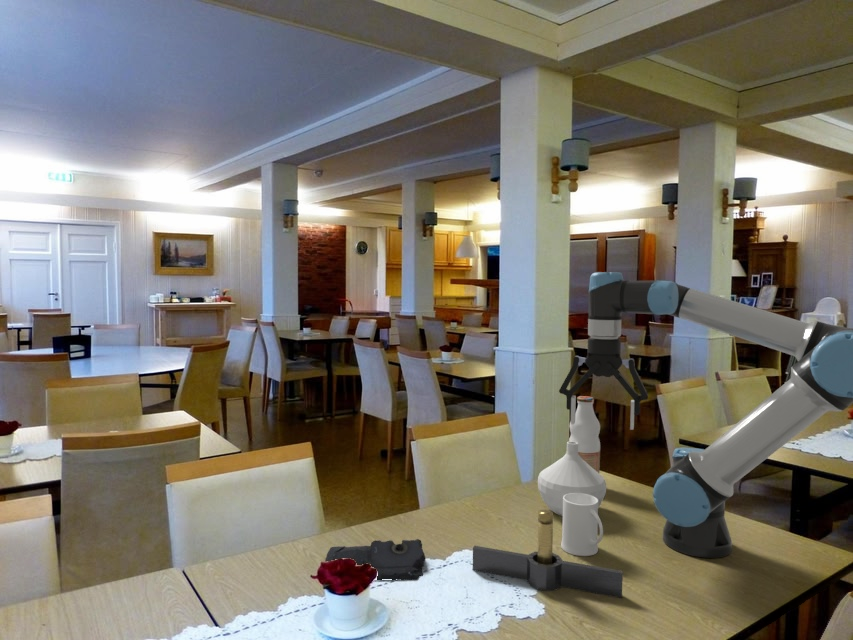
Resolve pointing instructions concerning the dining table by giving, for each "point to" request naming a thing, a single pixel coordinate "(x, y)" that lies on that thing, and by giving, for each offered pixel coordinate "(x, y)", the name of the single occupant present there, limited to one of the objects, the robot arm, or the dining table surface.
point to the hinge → (548, 571)
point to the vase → (569, 480)
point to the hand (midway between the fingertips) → (601, 425)
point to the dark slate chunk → (386, 558)
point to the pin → (545, 536)
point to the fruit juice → (586, 432)
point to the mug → (580, 524)
